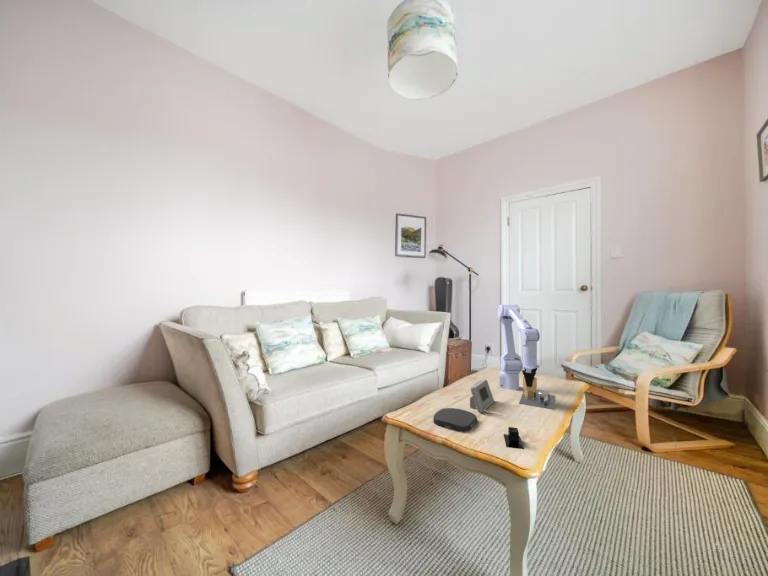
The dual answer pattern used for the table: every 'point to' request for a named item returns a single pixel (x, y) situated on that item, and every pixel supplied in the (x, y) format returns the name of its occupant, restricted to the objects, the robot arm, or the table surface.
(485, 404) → the digital clock
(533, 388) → the brass octagonal sleeve
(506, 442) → the block on black plate
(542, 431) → the table surface
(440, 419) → the media streaming box
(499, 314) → the robot arm
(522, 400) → the plate
